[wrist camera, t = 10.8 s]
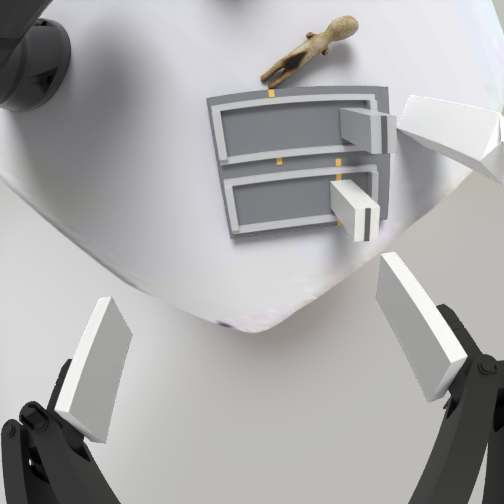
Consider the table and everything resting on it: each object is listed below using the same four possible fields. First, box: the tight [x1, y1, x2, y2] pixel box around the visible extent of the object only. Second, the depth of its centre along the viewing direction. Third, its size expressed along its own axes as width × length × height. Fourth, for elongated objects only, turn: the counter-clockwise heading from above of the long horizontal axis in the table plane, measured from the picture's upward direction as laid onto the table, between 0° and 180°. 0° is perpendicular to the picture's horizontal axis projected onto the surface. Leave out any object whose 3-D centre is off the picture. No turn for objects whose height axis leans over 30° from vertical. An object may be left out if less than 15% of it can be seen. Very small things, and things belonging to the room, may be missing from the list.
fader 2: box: [330, 179, 380, 242], centre depth 36 cm, size 3×4×10 cm
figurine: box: [261, 16, 358, 89], centre depth 31 cm, size 4×4×15 cm
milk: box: [396, 95, 504, 186], centre depth 27 cm, size 6×6×22 cm
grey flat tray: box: [206, 86, 390, 239], centre depth 38 cm, size 24×20×3 cm
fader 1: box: [339, 108, 397, 154], centre depth 31 cm, size 3×4×10 cm
